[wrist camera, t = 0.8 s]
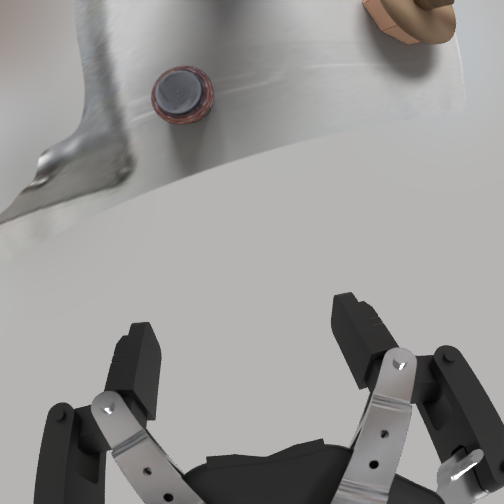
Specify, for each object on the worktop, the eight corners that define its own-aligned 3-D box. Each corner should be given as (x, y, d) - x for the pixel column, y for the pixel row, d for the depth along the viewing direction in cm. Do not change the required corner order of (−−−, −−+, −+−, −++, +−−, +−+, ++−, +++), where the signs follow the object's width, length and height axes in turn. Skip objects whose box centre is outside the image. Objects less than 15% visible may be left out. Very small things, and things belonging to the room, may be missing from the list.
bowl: (365, -34, 22) (382, -45, 17) (427, 0, 24) (445, -6, 20) (360, 21, 27) (378, 13, 22) (424, 54, 29) (445, 52, 25)
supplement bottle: (223, 93, 31) (228, 83, 21) (194, 132, 32) (186, 138, 22) (184, 68, 28) (171, 48, 18) (155, 107, 30) (130, 104, 20)
